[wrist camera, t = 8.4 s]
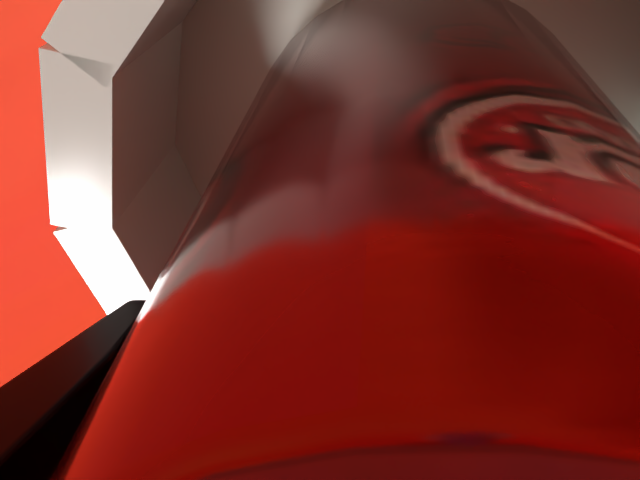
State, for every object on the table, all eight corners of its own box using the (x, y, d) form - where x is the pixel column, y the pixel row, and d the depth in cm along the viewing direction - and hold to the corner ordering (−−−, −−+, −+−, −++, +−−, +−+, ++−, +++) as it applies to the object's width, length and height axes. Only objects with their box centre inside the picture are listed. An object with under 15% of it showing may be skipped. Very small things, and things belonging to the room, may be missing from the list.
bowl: (567, 380, 18) (613, 517, 15) (131, 285, 18) (62, 400, 14) (872, -132, 11) (1122, -122, 7) (144, -301, 11) (10, -381, 7)
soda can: (527, -97, 11) (1636, 377, 1) (610, 215, 15) (1094, 1030, 5) (199, 62, 13) (-350, 688, 3) (336, 302, 17) (257, 973, 7)
